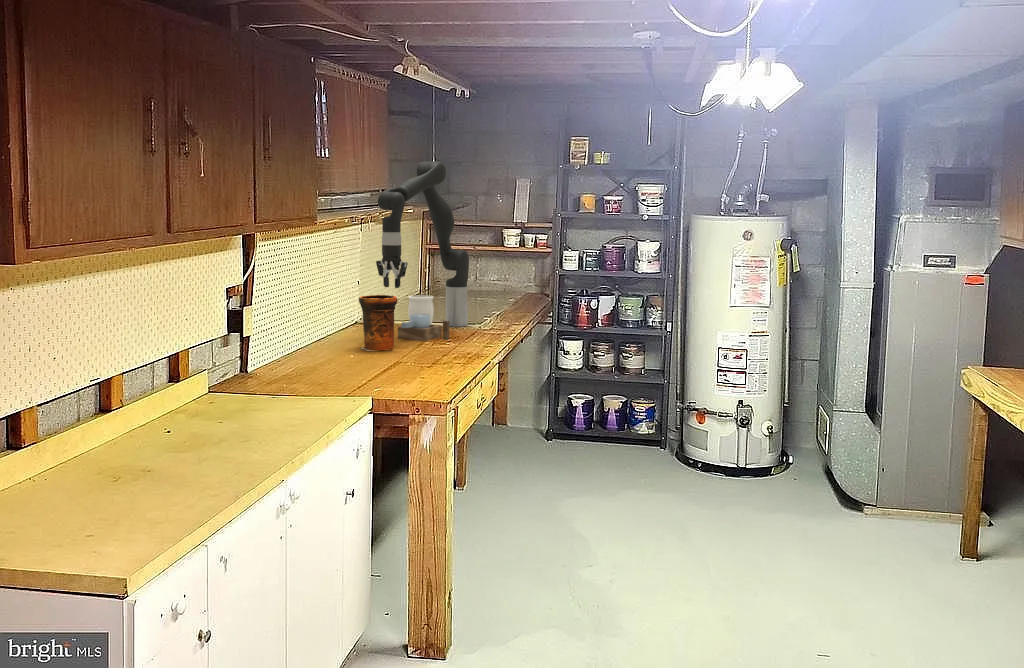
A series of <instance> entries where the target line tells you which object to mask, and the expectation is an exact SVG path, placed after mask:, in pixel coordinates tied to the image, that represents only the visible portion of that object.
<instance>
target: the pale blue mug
mask: <svg viewBox="0 0 1024 668" xmlns="http://www.w3.org/2000/svg"><path fill="white" fill-rule="evenodd" d="M429 327H430V315H429V314H411V315H410V320H408V321H404V322H401V328H420V329H424V328H429Z"/></svg>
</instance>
